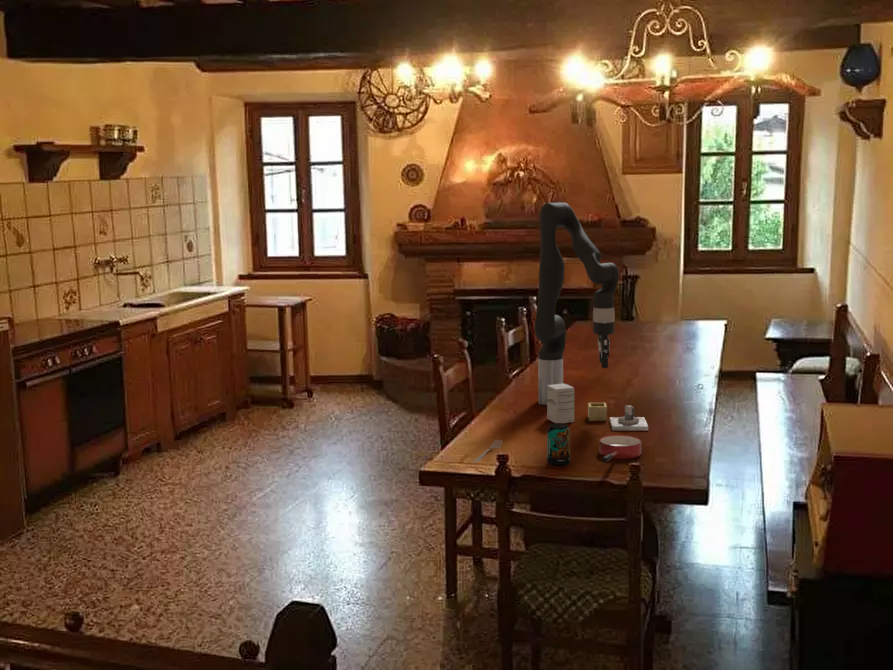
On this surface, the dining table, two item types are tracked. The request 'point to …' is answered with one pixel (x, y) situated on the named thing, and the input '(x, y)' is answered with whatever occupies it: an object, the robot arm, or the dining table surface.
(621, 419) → the shaft stand
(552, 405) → the supplement box
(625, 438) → the frying pan
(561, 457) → the beverage can
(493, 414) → the dining table surface
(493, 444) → the fork
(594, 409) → the box
